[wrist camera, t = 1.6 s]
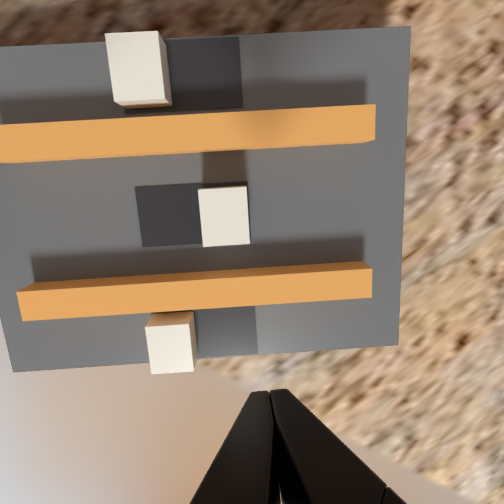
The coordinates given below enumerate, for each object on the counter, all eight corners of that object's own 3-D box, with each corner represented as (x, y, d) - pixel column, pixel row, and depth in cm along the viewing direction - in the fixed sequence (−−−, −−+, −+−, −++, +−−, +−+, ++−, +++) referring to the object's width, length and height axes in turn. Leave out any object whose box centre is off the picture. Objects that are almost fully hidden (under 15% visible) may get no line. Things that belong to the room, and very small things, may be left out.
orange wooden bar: (361, 261, 17) (372, 268, 16) (361, 287, 17) (371, 297, 16) (34, 282, 17) (16, 292, 15) (40, 309, 17) (22, 321, 16)
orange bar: (363, 110, 15) (375, 104, 14) (363, 142, 16) (374, 139, 14) (3, 130, 15) (-21, 126, 14) (9, 163, 15) (-13, 162, 14)
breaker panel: (382, 50, 18) (430, 8, 13) (376, 321, 21) (413, 361, 16) (-12, 71, 17) (-100, 34, 13) (45, 344, 21) (-9, 391, 16)
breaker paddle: (245, 185, 16) (246, 186, 14) (248, 237, 16) (250, 243, 15) (202, 188, 16) (197, 189, 14) (206, 240, 16) (203, 247, 15)
